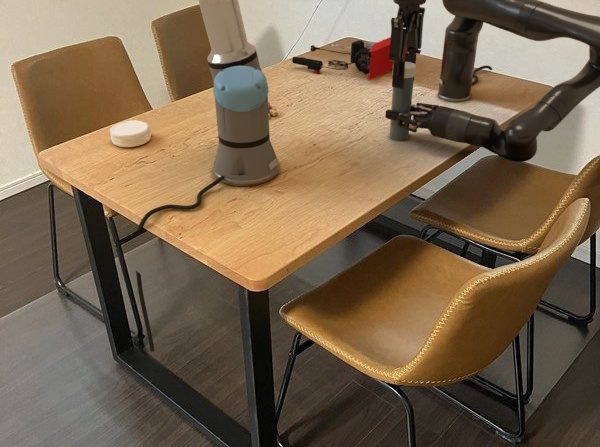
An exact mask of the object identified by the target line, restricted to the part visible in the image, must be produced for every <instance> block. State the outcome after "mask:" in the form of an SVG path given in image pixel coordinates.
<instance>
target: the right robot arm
mask: <svg viewBox="0 0 600 447" xmlns="http://www.w3.org/2000/svg"><path fill="white" fill-rule="evenodd" d="M441 1H442V6H443V7H444V8H445V10H446V11H447V12H448V13H449V14H450V15H452V16H454V18H453V19H452V21H451V22H450V23H449V24H448V25H447V26H446V28H445V30H444V39H443V48H442V58H441V67H440V75H439V76H440V77H438V78H437V82H439V84H438V91H437V96H438V98H439V99H441V100H444V101H447V102H455V103H456V102H457V103H460V102H466V101H468V100H470V99H471V95H472V94H471V92H472V86H473V85H475V84H477V83H478V82H479V76H477V75H476V73H477V72H479V71H481V70H484V69H488V70H489V71H493V67H492V66H490V65H482V66H479V67H477V68H475V63H476V56H477V49H478V42H479V35H480V33H481V31H482V29H483V26H484V23H485V24H487V25H490V26H492V27H495V28H497V29H500V30H503V31H506V32H508V33H511V34H513V35H515V36H519V37H521V38H524V39H527V40H530V41H534V42H546V41H551V40H556V39H562V38H564V39H572V40H575V41H577V42H581V43H583V44H584V45H586V46H589V48H588V60H587V62H586V63H585V64H584V66H583V67H582V68H581V70H580V71H579V72H578V73H577V74H576V75H575V76H574V77H571V78H569V79H567V80H564V81H562V82H560V83H558V84H556V85H554V86H553V87H551V88H550V89H549V90H548V91H547V92H546V93H545V94H543V96H542V97H540V99H539V100H538V101H537V102H536V103H535V104H534V105H533V106H532V107H530V108H528V109H527V110H525V111H524V112H522V113H520V114H519V115H517V116H516V117H514V118H513V119H512V120H511V121H510V122H509V123H508V124H507V125H506V127H505V129H503V128H502V127H501V126H500V124H499V123H498V121H496V119H494V118H490V117H486V116H483V115H478V114H474V113H471V112H468V111H466V110H462V109H456V108H452V107H447V106H442V105H439V104H432V103H425V102H424V103H423V102H416V103H415V104H414V103H413V104H411V112H409V113H400V112H397V111H393V110H391V109H387V110H385V117H384V118H385V119H386V120H390V121H391V120H395V121H397V126H399V127H401V128H404V129H406V130H409V132H412V133H417V131H418V129H426V130H428V131H429V133H430V135H431V136H432V137H435V138H439V139H443V140H446V141H450V142H454V143H460V144H466V145H471V146H475V147H479V148H483V149H486V150H488V151H489V152H491V153H493V154H495V155H496V156H499V157H500V158H503V159H505V160H508V161H511V162H517V163H522V162H527V161H530V160H532V159H533V158H534V157H535V156H536V154H537V152H538V136H539V134H540V133H541V132H551V131H553V130H554V129H555V128H556V127H558V126H559V125H560V124H561V123H562V122H563V120H564V119H565V118H567V116H568V115H570V113H572V112H573V110H574V109H575V108H576V107H577V106H579V104H580V103H582V102H583V101H584V100H585V99H586V98H587V97H589V96H590V95H591V94H592V93H593V92H595V91H596V90H598V89H599V88H600V16H598V15H592V14H587V13H583V12H578V11H574V10H571V9H569V8H568V9H567V8H564V7H560V6H556V5H554V4H551V3H547V2H544V1H542V0H441ZM473 78H474V80H473ZM404 116H405V117H404ZM406 117H408V118H406Z"/></svg>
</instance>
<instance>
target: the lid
mask: <svg viewBox="0 0 600 447" xmlns="http://www.w3.org/2000/svg"><path fill="white" fill-rule="evenodd" d="M416 71H417V63H416V64H414V63H412V62H405V71H404V78H412V77H414V76H415V77H416V73H417V72H416ZM391 74H392V75H393V71H392V73H391ZM415 77H414V78H415Z"/></svg>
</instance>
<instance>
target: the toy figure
mask: <svg viewBox="0 0 600 447" xmlns="http://www.w3.org/2000/svg"><path fill="white" fill-rule="evenodd" d="M268 112H269V119H270V118H271V116H273V117H276V116H277V115H278V111H276V110H275V109H273V106H272V105H271V102H270V101H268Z"/></svg>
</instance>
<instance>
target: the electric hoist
mask: <svg viewBox="0 0 600 447" xmlns="http://www.w3.org/2000/svg"><path fill="white" fill-rule="evenodd" d="M390 40H391V36H389V37H387V38H385V39H382V40H379V41H373V40H372V41H371V40H370V41H368V42H367V43H366V44H365V41H364V40H360V39H359V40H356V41H352V42H351V45H350V46H349V45H345V44H343V43H342V44H337V43H331V45H330V46H331V47H334V48H341V49H349V50H350V52H349V53H348V52H341V51H335V50H329V49H324V48H320V47H318V46H315V45H314V44H312V45H310V52H313V53H314V52H315V51H316V50H322V51H326V52H332V53H339V54H342V55H343V54H344V55H350V63H349V62H347V61H344V60H337V59H333V60H328V61H327V62H328V66H324V63H323V61H322V60H317V59H312V58H306V57H299V56H292V59H291V62H292V63H293V64H296V65H300V66H304V67H307V70H311V71H313V72H314V73H315V74H319V73H321V70H322V69H323V68H326V69H331V70H337V71H345V70H347V69H349V65H352V64H354V65H355V67H356V69H357V70H358V71H359V72H360V73H362V74H365V75H368V76H367V78H366V80H368V81H371V80H373V79H376V78H377V77H380V76H382V75H384V74H387V73H388V72H390V71H393V62H394V61H391V60H389V52H390ZM343 46H344V47H343ZM405 53H409V52H407V45H406V50H405ZM403 61H405V55H404V60H403Z"/></svg>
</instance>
